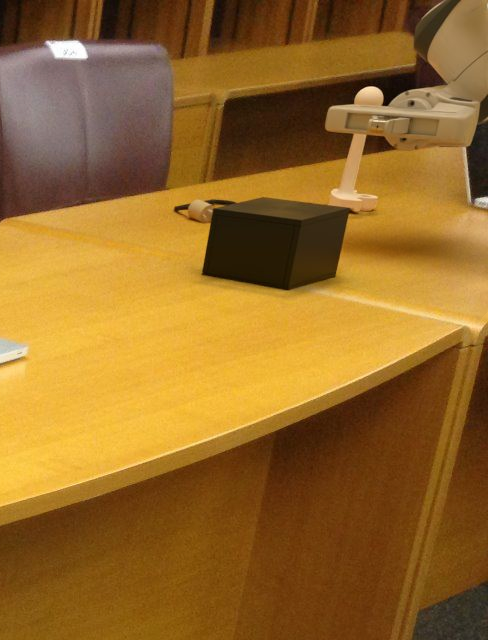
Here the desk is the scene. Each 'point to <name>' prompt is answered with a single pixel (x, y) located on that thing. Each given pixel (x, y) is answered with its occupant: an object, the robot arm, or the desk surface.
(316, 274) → the cabinet
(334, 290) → the desk surface
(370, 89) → the joystick
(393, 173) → the desk surface
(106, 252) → the desk surface
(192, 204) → the cable
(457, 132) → the robot arm
